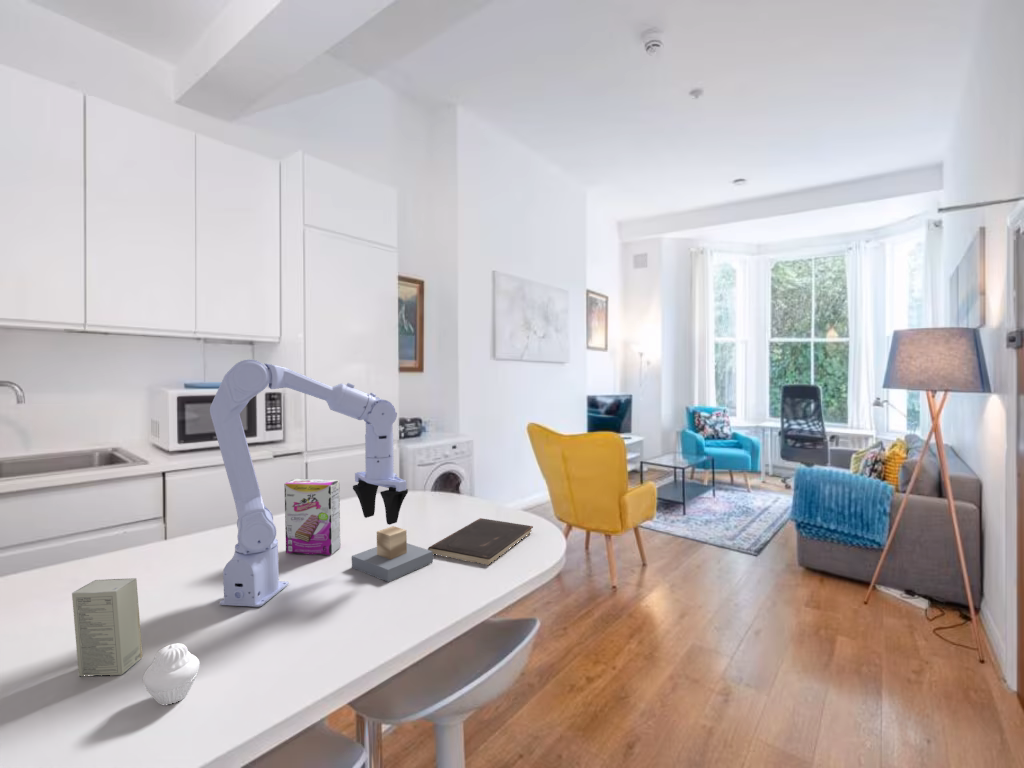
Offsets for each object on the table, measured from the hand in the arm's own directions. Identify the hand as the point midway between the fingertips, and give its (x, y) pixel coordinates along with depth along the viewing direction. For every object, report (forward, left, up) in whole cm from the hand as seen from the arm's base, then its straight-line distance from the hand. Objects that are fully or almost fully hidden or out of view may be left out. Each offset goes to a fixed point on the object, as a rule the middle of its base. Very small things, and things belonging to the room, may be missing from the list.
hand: (380, 519), depth 106 cm
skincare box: (-37, +26, -11) cm, 47 cm away
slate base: (+2, -2, -10) cm, 11 cm away
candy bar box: (+8, +19, -11) cm, 23 cm away
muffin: (-42, +12, -11) cm, 45 cm away
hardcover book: (+17, -19, -11) cm, 28 cm away
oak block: (+1, -2, -8) cm, 8 cm away
